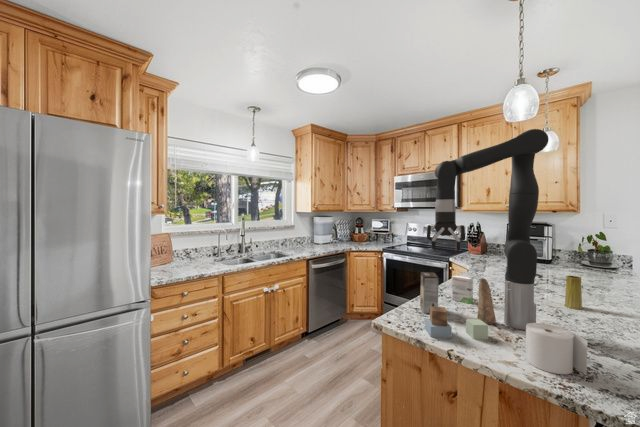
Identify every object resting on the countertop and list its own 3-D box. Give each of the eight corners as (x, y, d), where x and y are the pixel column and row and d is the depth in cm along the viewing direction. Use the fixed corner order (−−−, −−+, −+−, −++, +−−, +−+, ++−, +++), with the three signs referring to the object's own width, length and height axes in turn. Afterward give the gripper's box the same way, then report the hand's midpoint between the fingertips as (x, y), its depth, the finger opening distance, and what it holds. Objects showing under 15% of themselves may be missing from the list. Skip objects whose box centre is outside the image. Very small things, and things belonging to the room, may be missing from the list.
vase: (567, 308, 126) (568, 277, 126) (562, 304, 132) (562, 274, 132) (585, 310, 124) (585, 278, 124) (578, 306, 130) (578, 276, 130)
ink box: (473, 301, 135) (473, 277, 135) (469, 304, 131) (470, 279, 131) (454, 297, 141) (455, 274, 141) (451, 299, 138) (451, 276, 137)
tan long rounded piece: (477, 319, 114) (479, 325, 108) (470, 276, 114) (472, 280, 109) (494, 319, 112) (498, 326, 106) (487, 275, 112) (490, 279, 106)
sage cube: (479, 333, 100) (480, 319, 100) (487, 339, 95) (488, 325, 95) (465, 332, 100) (466, 319, 100) (473, 339, 95) (473, 324, 95)
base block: (444, 330, 103) (444, 319, 103) (451, 338, 96) (451, 327, 96) (424, 329, 103) (425, 318, 103) (430, 337, 96) (430, 326, 96)
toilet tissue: (519, 352, 87) (519, 320, 86) (565, 358, 83) (566, 325, 83) (534, 371, 76) (535, 335, 76) (588, 379, 73) (589, 341, 73)
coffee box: (419, 305, 128) (420, 271, 128) (434, 307, 127) (434, 272, 127) (423, 313, 119) (423, 276, 119) (438, 314, 118) (439, 277, 118)
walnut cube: (444, 320, 102) (444, 307, 102) (447, 326, 97) (447, 312, 97) (430, 319, 103) (430, 306, 103) (431, 324, 98) (432, 310, 98)
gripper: (462, 210, 114) (462, 249, 114) (425, 211, 118) (425, 248, 118) (466, 210, 107) (467, 252, 107) (427, 211, 110) (427, 251, 111)
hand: (445, 250), depth 112 cm, fingers open, 8 cm apart
